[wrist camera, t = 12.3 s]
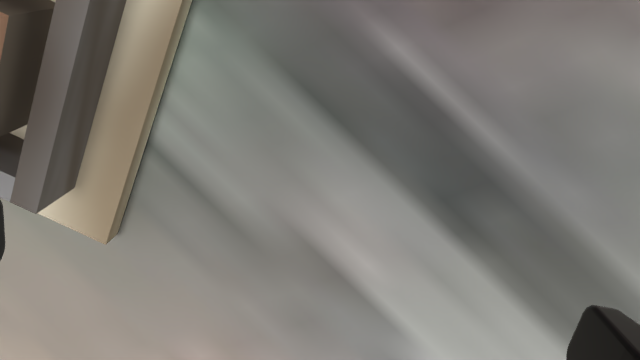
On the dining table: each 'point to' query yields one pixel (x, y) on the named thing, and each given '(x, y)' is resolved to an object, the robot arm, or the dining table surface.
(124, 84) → the square socket base
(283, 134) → the dining table surface
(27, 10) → the brown rectangular block
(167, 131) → the dining table surface
